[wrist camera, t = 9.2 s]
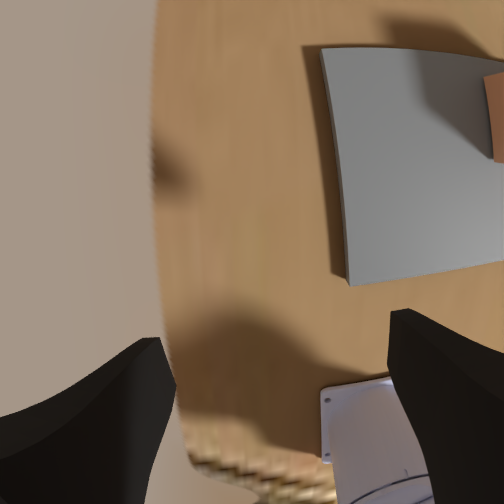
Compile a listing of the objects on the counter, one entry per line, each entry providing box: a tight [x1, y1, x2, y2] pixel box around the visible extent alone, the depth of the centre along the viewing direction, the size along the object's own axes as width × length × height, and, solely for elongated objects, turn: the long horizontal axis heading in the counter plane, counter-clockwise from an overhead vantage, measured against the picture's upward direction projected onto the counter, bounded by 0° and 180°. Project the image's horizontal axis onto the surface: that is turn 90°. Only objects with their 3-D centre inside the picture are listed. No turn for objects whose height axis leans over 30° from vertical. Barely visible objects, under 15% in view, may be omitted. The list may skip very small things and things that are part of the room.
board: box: [319, 48, 504, 287], centre depth 15 cm, size 13×17×1 cm
